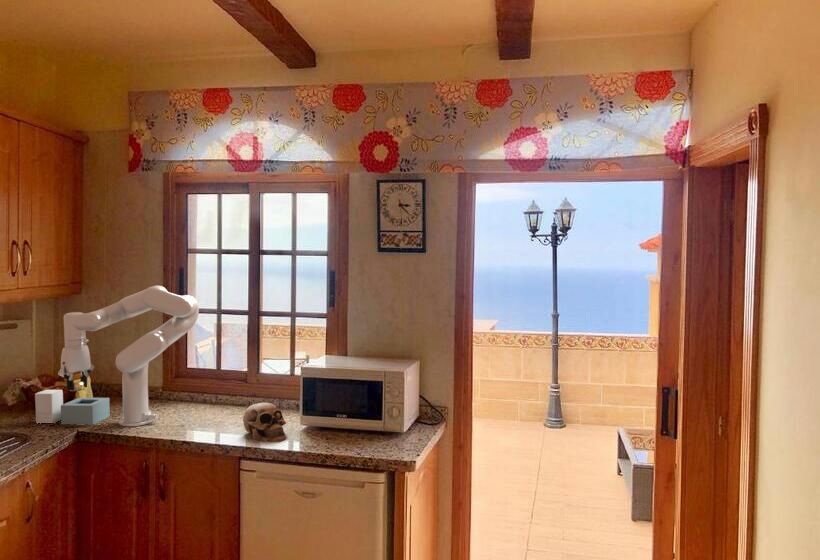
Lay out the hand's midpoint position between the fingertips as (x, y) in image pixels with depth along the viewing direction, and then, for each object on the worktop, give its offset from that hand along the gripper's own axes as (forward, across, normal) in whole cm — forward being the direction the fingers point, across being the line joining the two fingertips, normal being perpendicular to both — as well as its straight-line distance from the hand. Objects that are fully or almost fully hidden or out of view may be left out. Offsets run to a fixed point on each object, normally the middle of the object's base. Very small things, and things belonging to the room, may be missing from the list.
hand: (77, 387), depth 248 cm
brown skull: (+16, -26, +76) cm, 82 cm away
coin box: (+15, -6, -4) cm, 17 cm away
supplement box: (+15, +2, -15) cm, 22 cm away
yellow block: (+1, 0, 0) cm, 1 cm away
